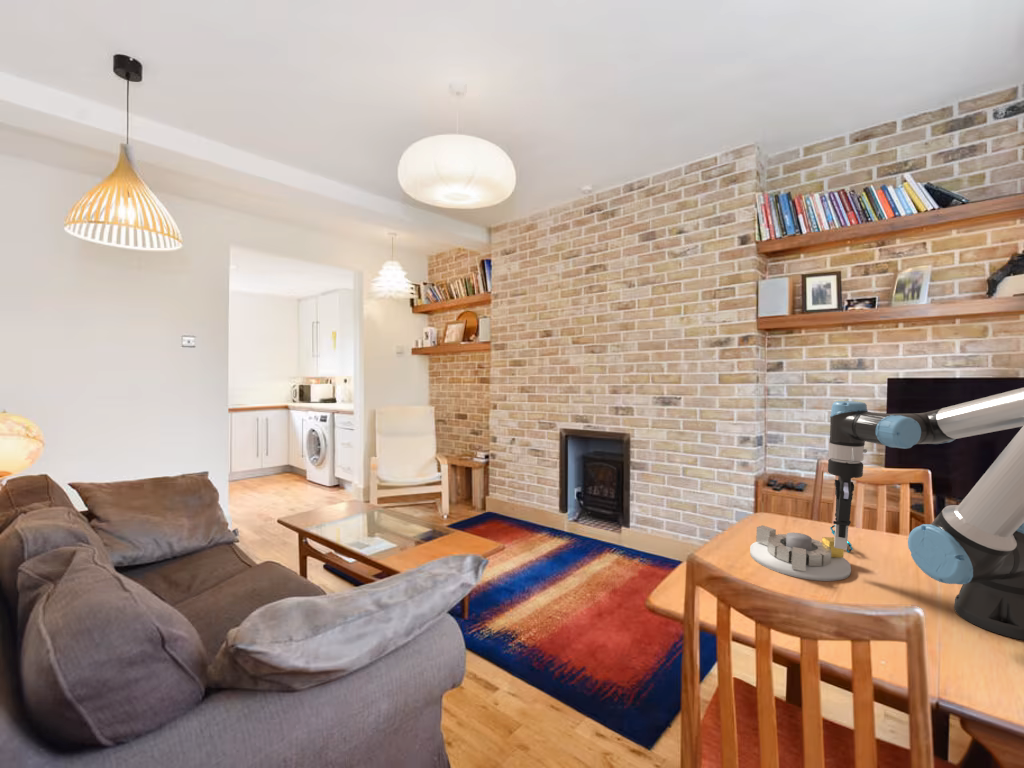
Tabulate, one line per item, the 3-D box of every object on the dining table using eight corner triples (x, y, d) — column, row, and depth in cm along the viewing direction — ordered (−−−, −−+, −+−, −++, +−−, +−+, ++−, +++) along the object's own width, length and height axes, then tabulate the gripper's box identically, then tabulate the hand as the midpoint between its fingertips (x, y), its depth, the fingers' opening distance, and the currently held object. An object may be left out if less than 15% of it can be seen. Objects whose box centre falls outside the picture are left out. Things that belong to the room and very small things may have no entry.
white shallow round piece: (873, 581, 119) (874, 554, 119) (778, 580, 120) (779, 553, 119) (814, 544, 143) (815, 522, 143) (735, 543, 144) (735, 521, 143)
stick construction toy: (858, 549, 134) (839, 524, 138) (834, 560, 136) (816, 534, 140) (851, 547, 145) (833, 523, 148) (829, 557, 147) (812, 533, 150)
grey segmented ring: (868, 572, 121) (868, 555, 120) (793, 571, 121) (794, 554, 121) (815, 540, 142) (816, 525, 142) (752, 539, 142) (752, 525, 142)
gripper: (866, 467, 115) (861, 560, 117) (860, 457, 127) (855, 542, 128) (830, 463, 119) (825, 553, 121) (826, 453, 130) (822, 536, 132)
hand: (840, 547), depth 124 cm, fingers closed
